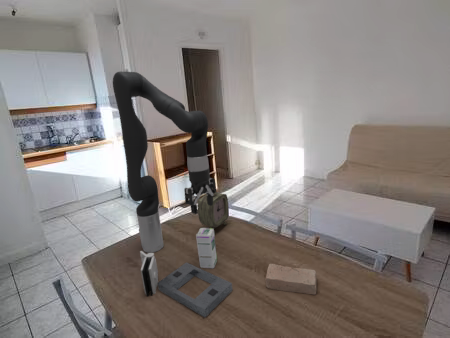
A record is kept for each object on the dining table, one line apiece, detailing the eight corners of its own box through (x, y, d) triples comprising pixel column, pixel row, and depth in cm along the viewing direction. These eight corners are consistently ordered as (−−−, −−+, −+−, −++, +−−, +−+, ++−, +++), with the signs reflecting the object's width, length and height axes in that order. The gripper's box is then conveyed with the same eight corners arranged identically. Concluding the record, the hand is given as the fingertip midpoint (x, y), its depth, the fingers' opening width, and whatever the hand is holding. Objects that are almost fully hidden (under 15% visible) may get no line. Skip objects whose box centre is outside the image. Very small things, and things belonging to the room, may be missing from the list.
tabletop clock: (213, 237, 128) (208, 187, 121) (198, 232, 133) (193, 184, 126) (229, 224, 140) (226, 177, 133) (215, 220, 144) (211, 176, 138)
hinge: (143, 274, 105) (139, 251, 102) (157, 270, 106) (154, 247, 104) (144, 297, 92) (140, 272, 90) (161, 293, 94) (157, 268, 91)
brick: (316, 279, 95) (316, 267, 94) (316, 296, 87) (316, 284, 86) (268, 274, 100) (268, 262, 99) (265, 289, 92) (264, 277, 91)
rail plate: (158, 290, 95) (157, 282, 94) (187, 269, 106) (186, 261, 105) (205, 317, 82) (204, 309, 81) (232, 290, 92) (231, 282, 92)
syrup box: (214, 268, 105) (210, 235, 101) (199, 267, 106) (195, 234, 102) (217, 260, 110) (214, 227, 106) (203, 259, 111) (200, 227, 107)
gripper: (204, 162, 105) (207, 200, 109) (176, 171, 94) (182, 214, 99) (219, 163, 100) (222, 204, 105) (191, 174, 90) (197, 218, 94)
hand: (202, 209), depth 102 cm, fingers open, 8 cm apart
